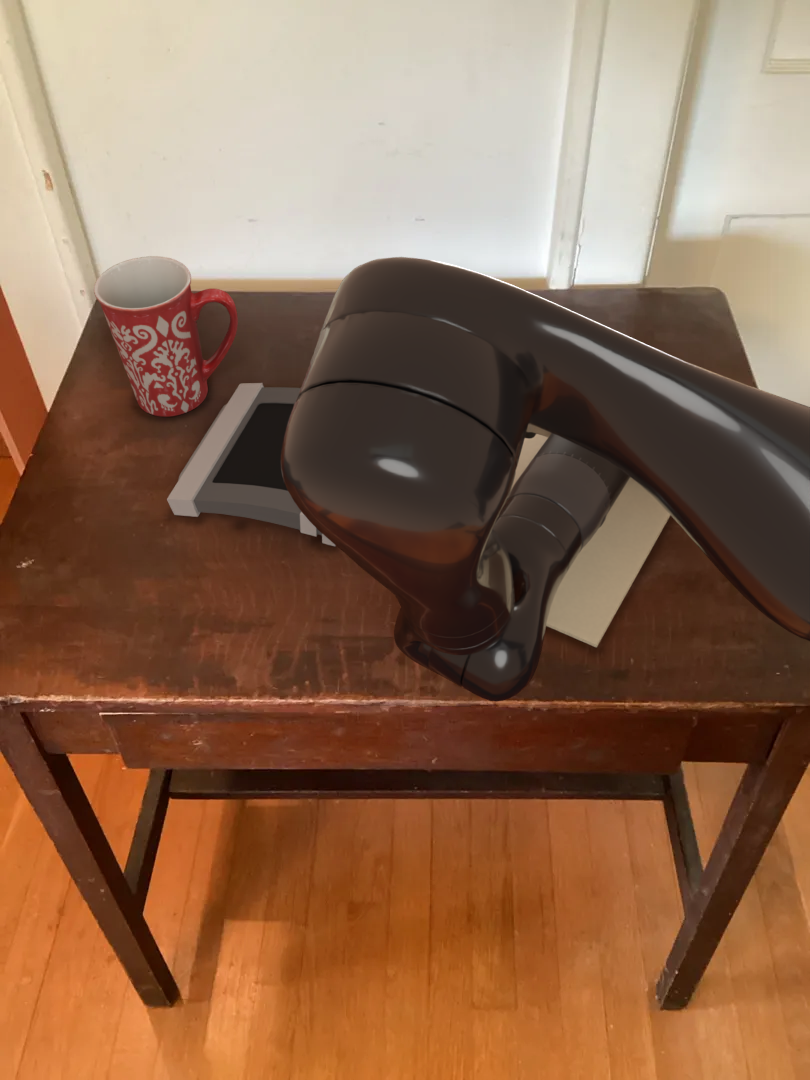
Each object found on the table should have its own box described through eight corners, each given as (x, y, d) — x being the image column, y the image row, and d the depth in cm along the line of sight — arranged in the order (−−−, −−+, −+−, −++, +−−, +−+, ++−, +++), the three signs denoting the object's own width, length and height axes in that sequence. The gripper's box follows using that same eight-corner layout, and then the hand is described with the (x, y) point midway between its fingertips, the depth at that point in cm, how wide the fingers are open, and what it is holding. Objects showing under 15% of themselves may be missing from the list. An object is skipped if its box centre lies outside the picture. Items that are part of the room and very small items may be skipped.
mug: (121, 426, 94) (85, 311, 84) (133, 370, 100) (101, 257, 91) (247, 420, 95) (226, 304, 85) (252, 365, 101) (233, 251, 91)
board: (710, 443, 91) (711, 440, 91) (596, 647, 75) (597, 644, 75) (540, 386, 97) (541, 382, 97) (401, 563, 81) (401, 560, 81)
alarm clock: (335, 520, 80) (158, 476, 82) (335, 555, 84) (165, 512, 86) (391, 396, 91) (234, 360, 94) (389, 432, 95) (237, 396, 97)
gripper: (657, 490, 71) (725, 374, 80) (488, 429, 76) (570, 327, 85) (640, 556, 77) (706, 440, 86) (484, 495, 82) (562, 392, 91)
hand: (638, 384), depth 86 cm, fingers open, 8 cm apart
